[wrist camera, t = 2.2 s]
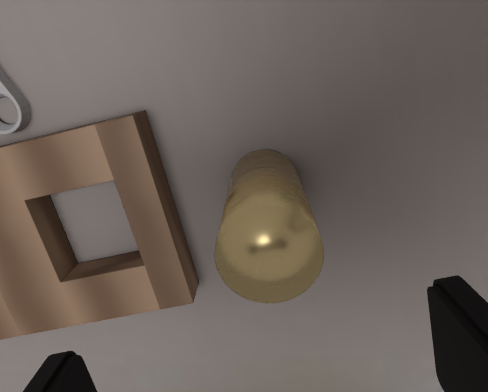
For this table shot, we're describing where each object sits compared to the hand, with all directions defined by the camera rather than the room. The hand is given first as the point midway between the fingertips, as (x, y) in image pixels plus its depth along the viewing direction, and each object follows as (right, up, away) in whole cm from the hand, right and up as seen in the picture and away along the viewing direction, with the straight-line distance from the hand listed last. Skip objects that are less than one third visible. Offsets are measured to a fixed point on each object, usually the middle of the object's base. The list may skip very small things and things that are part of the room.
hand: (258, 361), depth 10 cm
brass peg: (+1, +5, +14) cm, 15 cm away
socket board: (-14, +2, +16) cm, 21 cm away
